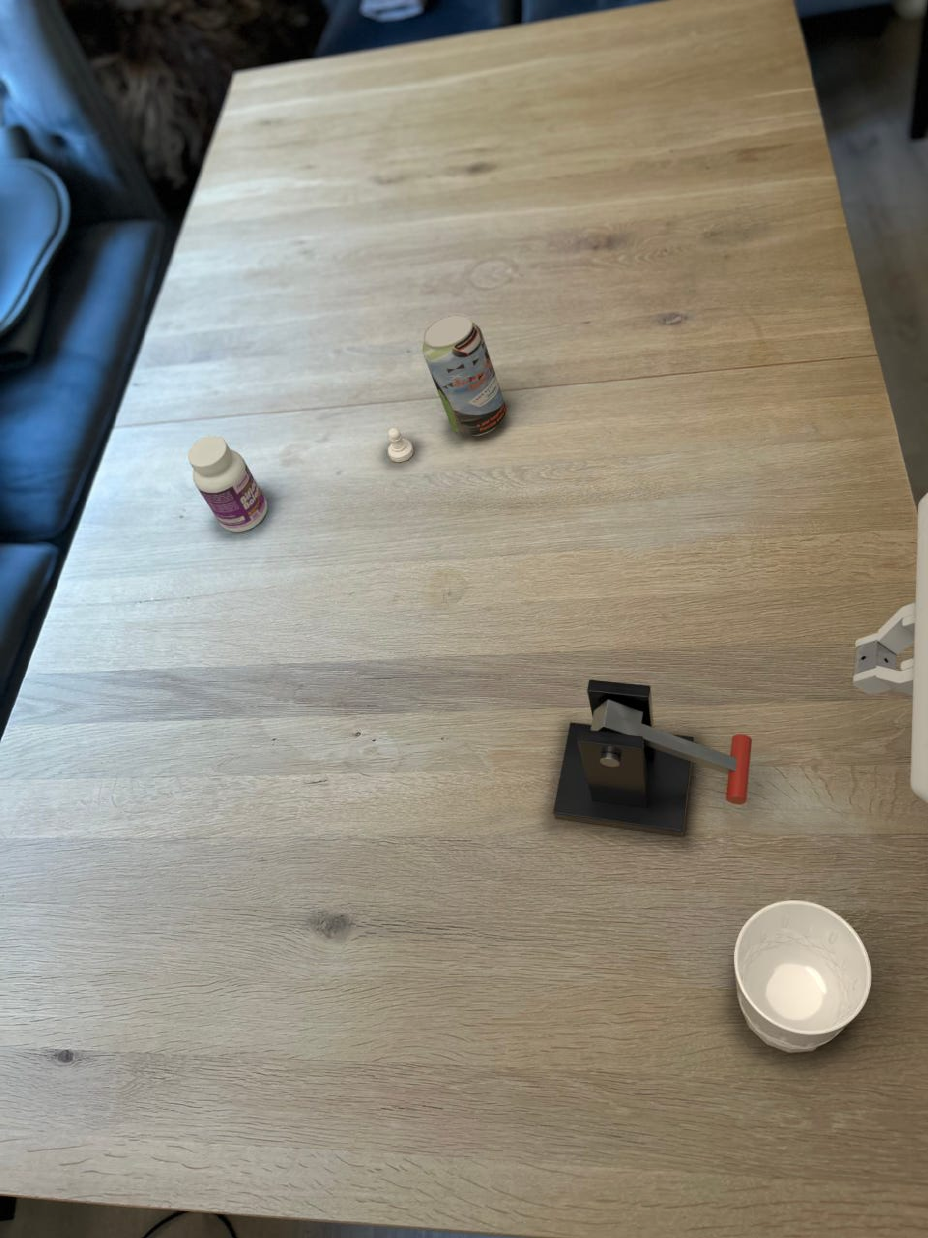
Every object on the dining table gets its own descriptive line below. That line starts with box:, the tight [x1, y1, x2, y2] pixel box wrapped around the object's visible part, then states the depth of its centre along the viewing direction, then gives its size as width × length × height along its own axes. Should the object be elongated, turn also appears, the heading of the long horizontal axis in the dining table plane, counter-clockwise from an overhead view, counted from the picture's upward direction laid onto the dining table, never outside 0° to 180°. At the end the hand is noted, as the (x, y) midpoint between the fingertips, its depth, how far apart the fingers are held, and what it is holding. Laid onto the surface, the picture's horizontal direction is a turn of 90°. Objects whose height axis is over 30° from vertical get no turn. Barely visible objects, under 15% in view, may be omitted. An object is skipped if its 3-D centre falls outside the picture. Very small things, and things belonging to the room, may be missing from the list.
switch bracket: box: [552, 679, 695, 838], centre depth 74 cm, size 10×8×12 cm
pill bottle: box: [187, 435, 268, 533], centre depth 99 cm, size 5×5×10 cm
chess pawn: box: [387, 427, 414, 463], centre depth 102 cm, size 3×3×4 cm
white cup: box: [733, 899, 872, 1054], centre depth 64 cm, size 8×8×10 cm
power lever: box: [590, 699, 753, 805], centre depth 72 cm, size 12×5×2 cm, turn 77°
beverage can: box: [422, 313, 508, 437], centre depth 99 cm, size 6×7×12 cm
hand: (860, 668), depth 59 cm, fingers closed
